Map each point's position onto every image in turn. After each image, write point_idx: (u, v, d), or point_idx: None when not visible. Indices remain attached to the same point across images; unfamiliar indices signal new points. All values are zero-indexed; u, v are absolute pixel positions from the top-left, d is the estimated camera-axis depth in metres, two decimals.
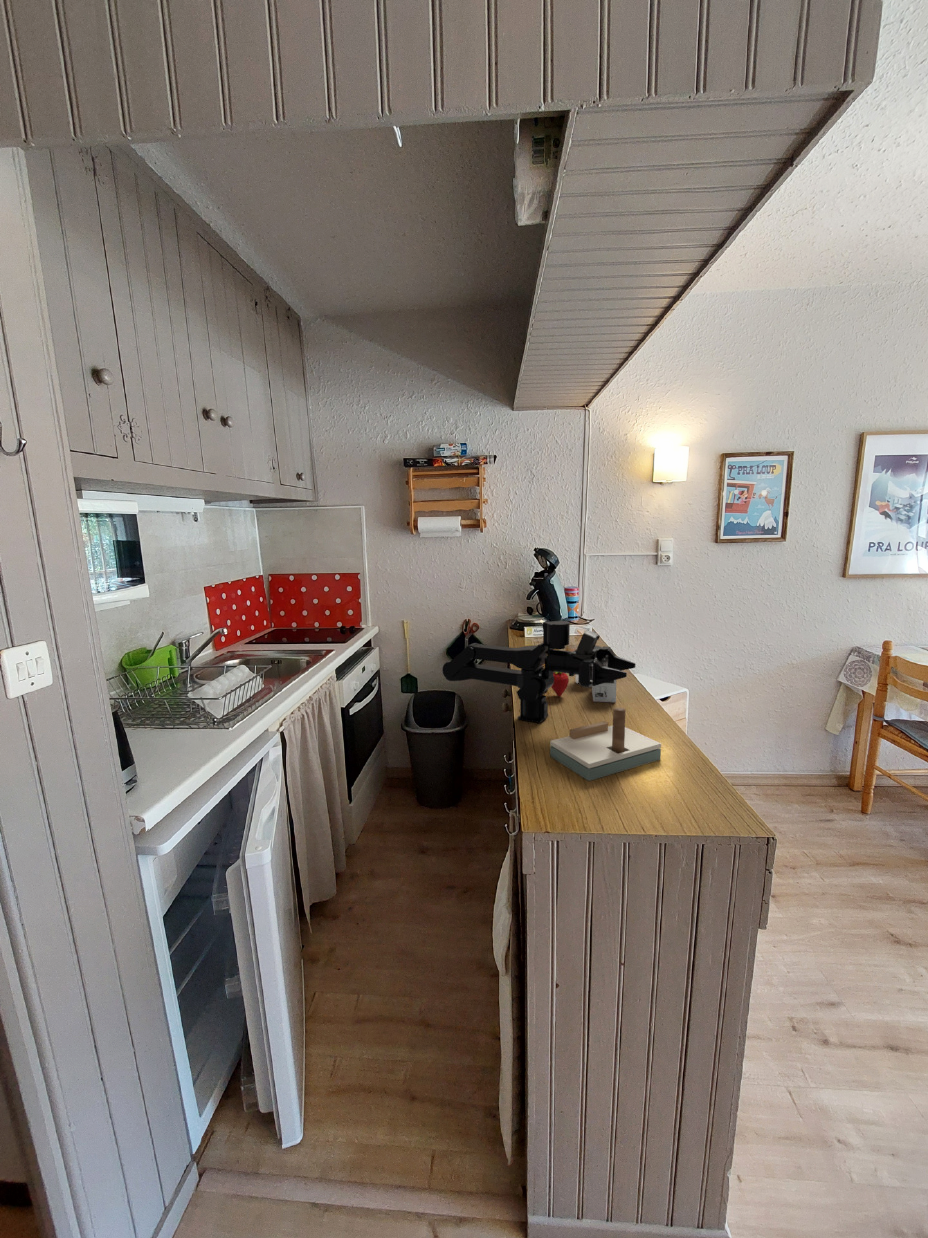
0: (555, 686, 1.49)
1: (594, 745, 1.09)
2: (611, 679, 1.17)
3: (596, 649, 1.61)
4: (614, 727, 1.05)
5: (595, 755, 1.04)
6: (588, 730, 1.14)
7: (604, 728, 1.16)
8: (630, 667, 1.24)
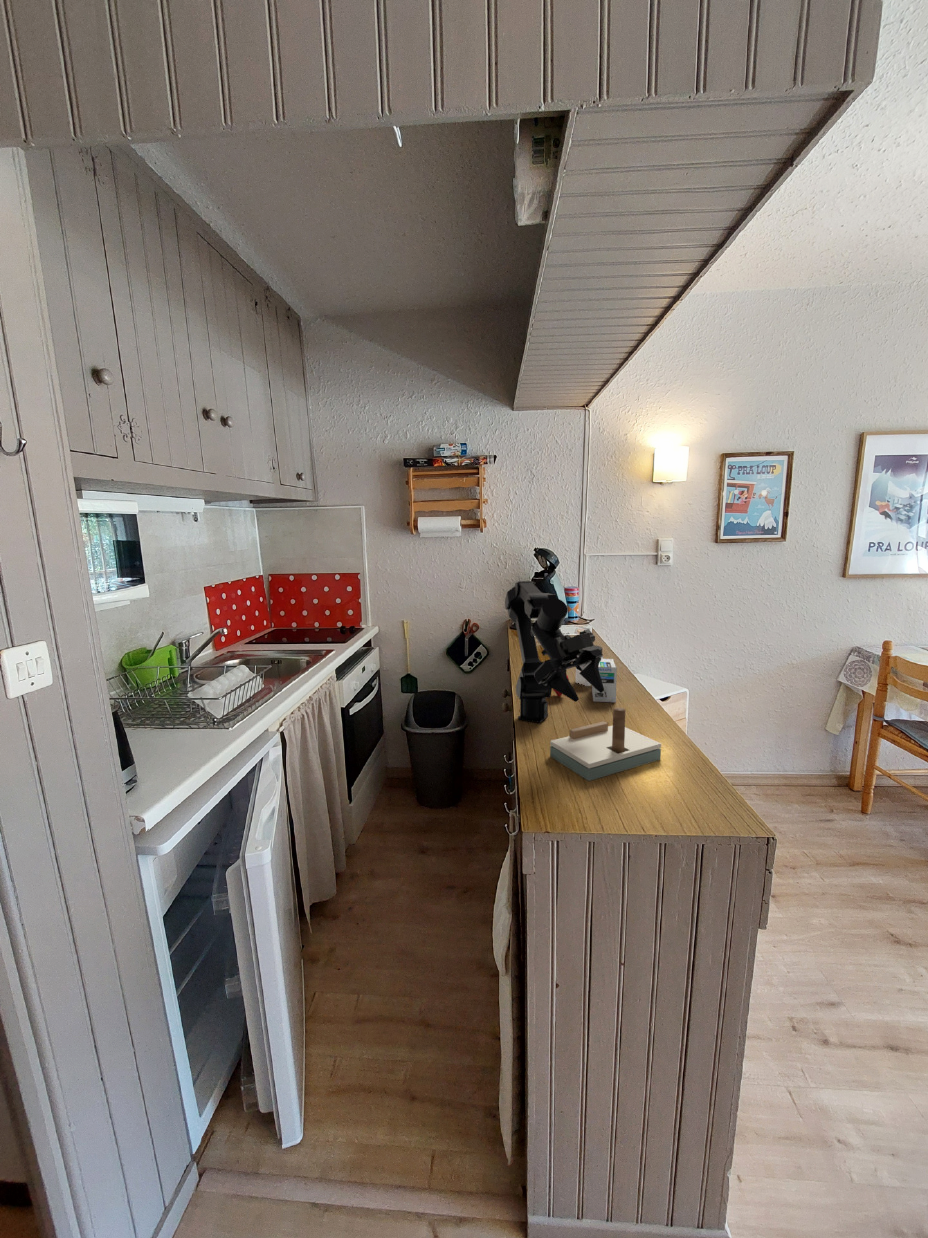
0: None
1: (594, 745, 1.09)
2: (562, 692, 1.09)
3: None
4: (614, 727, 1.05)
5: (595, 755, 1.04)
6: (588, 730, 1.14)
7: (604, 728, 1.16)
8: (597, 689, 1.14)
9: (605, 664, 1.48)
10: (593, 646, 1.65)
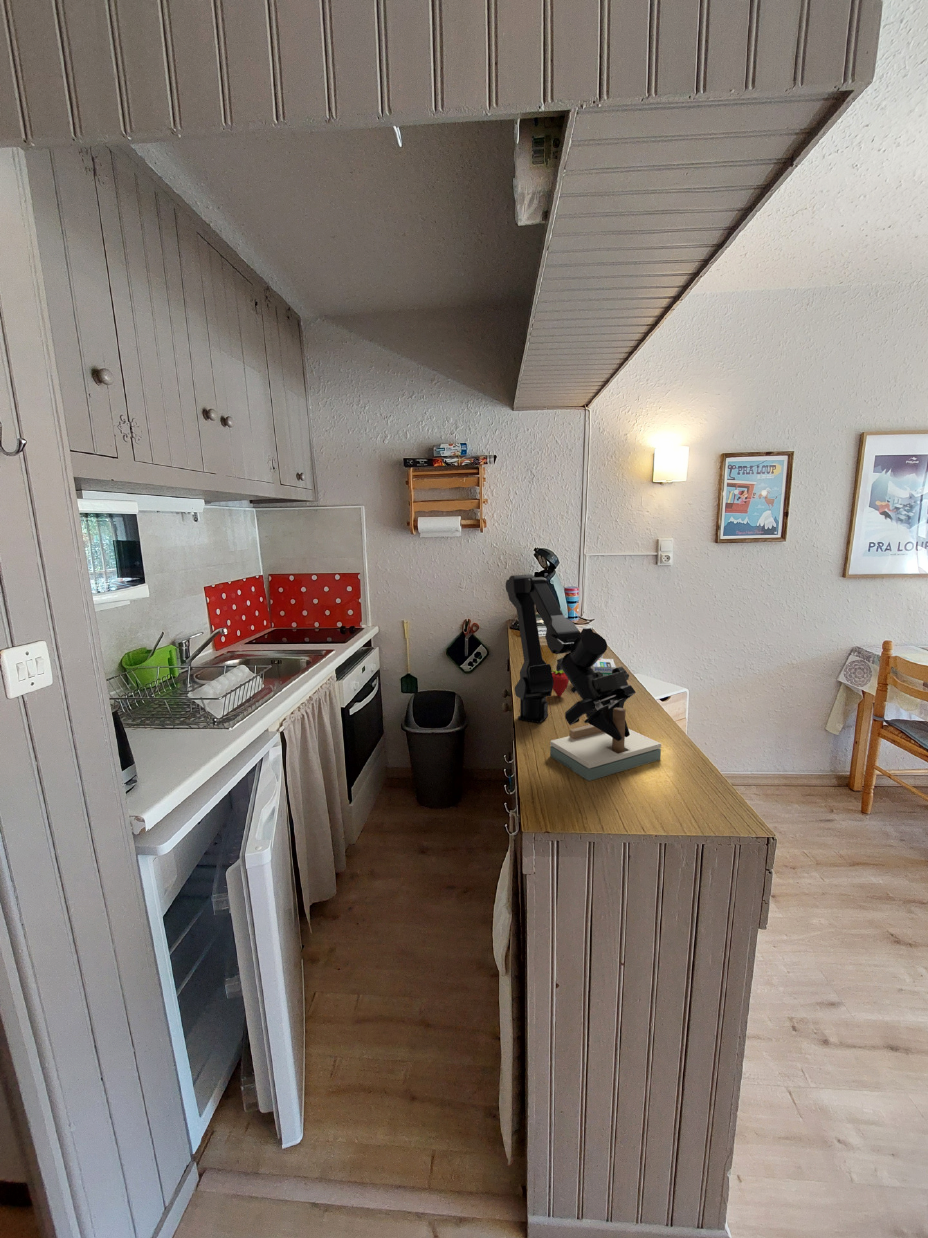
0: (555, 686, 1.49)
1: (594, 745, 1.09)
2: (604, 731, 1.06)
3: None
4: None
5: (595, 755, 1.04)
6: (588, 730, 1.14)
7: None
8: None
9: (605, 664, 1.48)
10: None
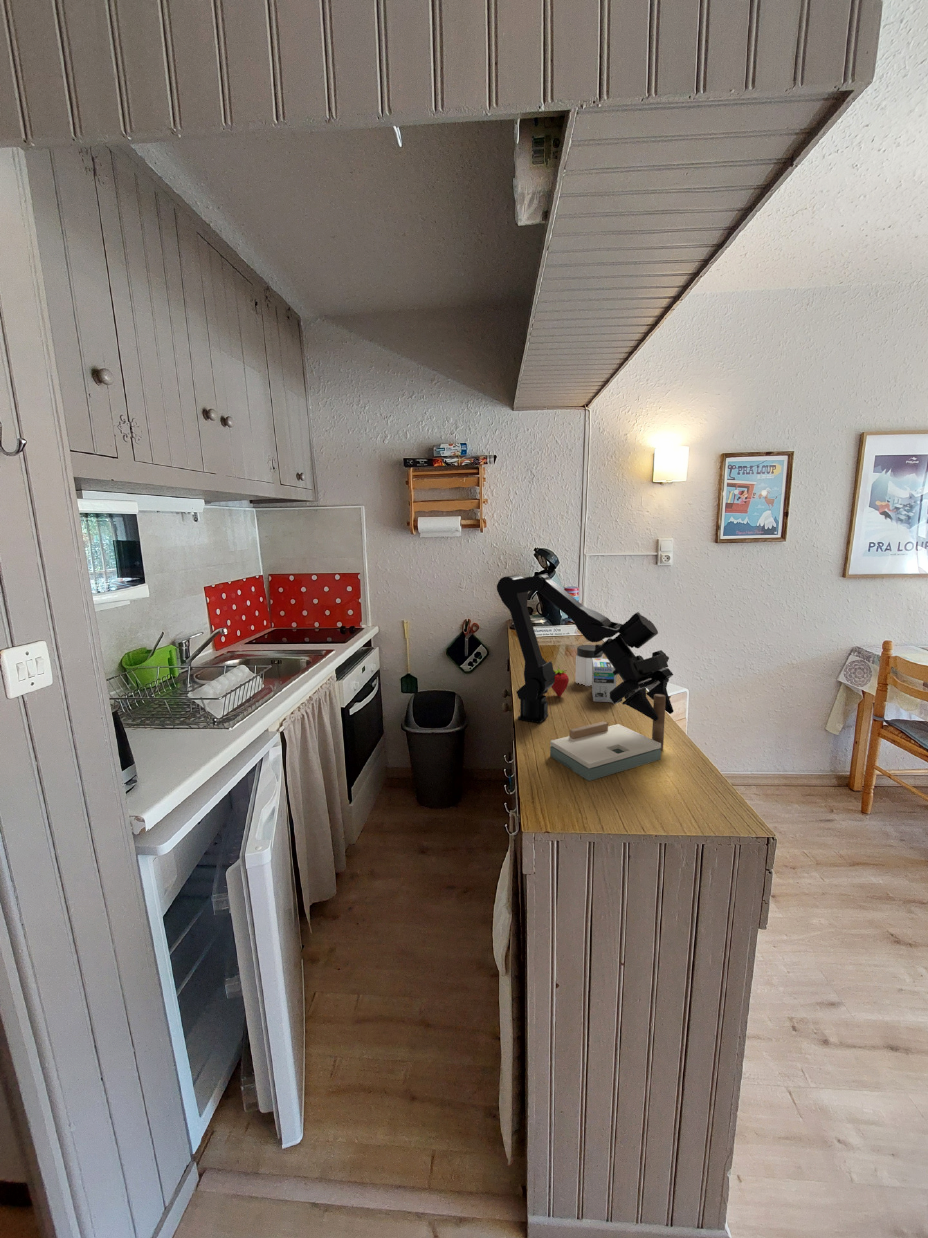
0: (555, 686, 1.49)
1: (594, 745, 1.09)
2: (641, 711, 1.12)
3: None
4: None
5: (595, 755, 1.04)
6: (588, 730, 1.14)
7: (604, 728, 1.16)
8: (666, 710, 1.15)
9: (605, 664, 1.48)
10: (593, 646, 1.65)
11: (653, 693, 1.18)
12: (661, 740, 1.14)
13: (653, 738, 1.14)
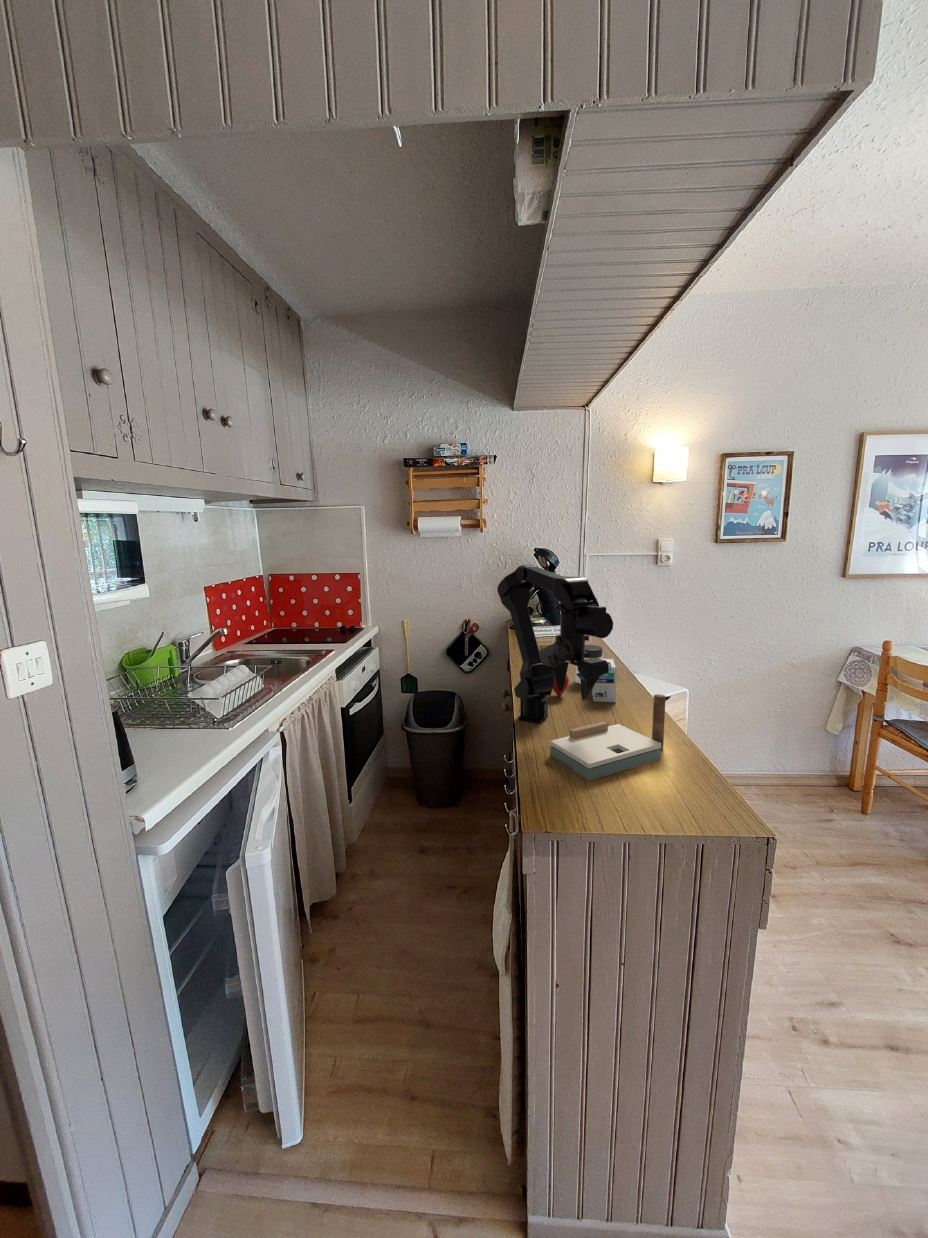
0: (555, 686, 1.49)
1: (594, 745, 1.09)
2: None
3: (596, 649, 1.61)
4: (655, 712, 1.13)
5: (595, 755, 1.04)
6: (588, 730, 1.14)
7: (604, 728, 1.16)
8: None
9: None
10: (593, 646, 1.65)
11: None
12: (661, 740, 1.14)
13: (653, 738, 1.14)
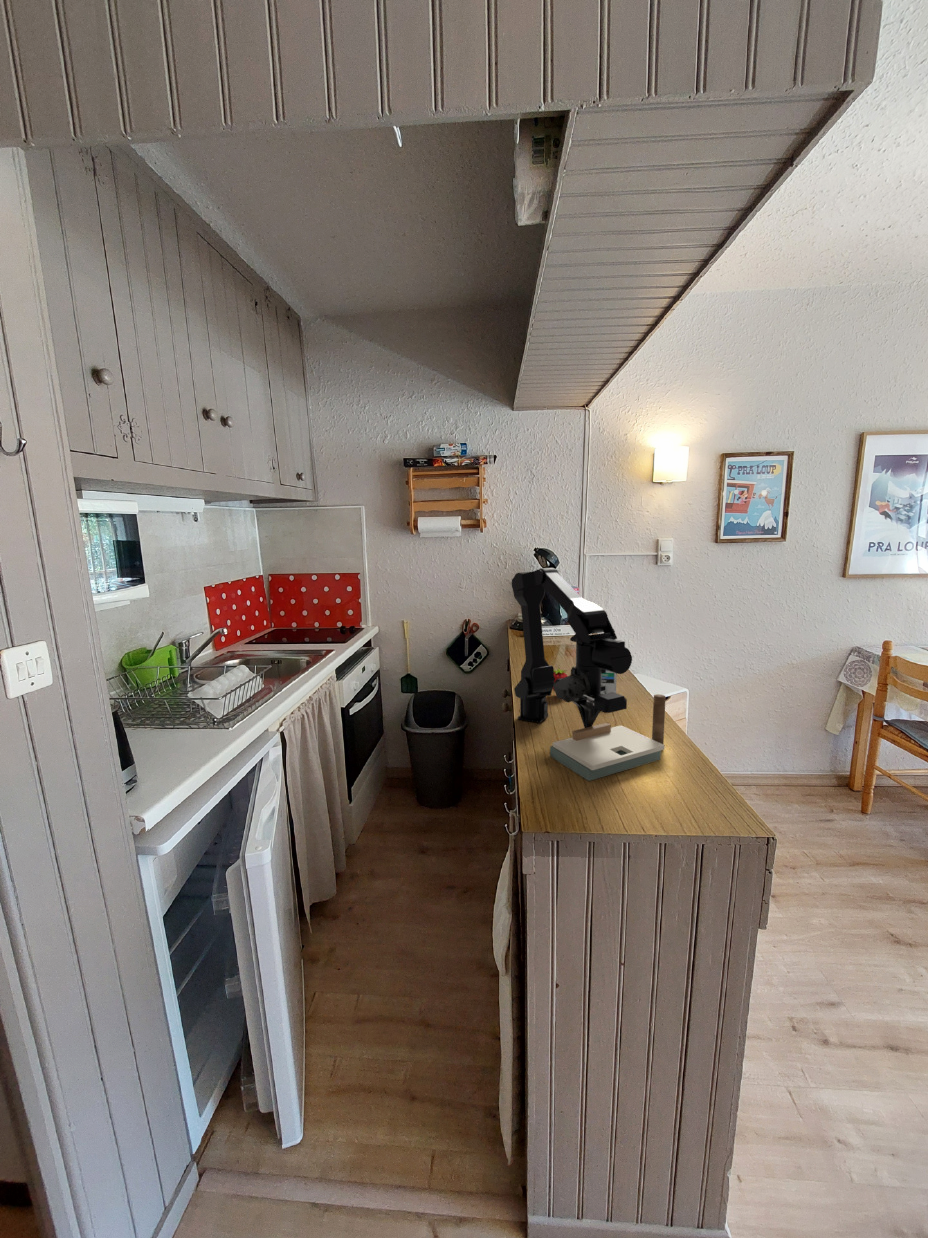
0: None
1: (597, 747, 1.08)
2: None
3: None
4: (655, 712, 1.13)
5: (598, 757, 1.03)
6: (591, 732, 1.13)
7: (607, 730, 1.15)
8: None
9: None
10: None
11: None
12: (661, 740, 1.14)
13: (653, 738, 1.14)
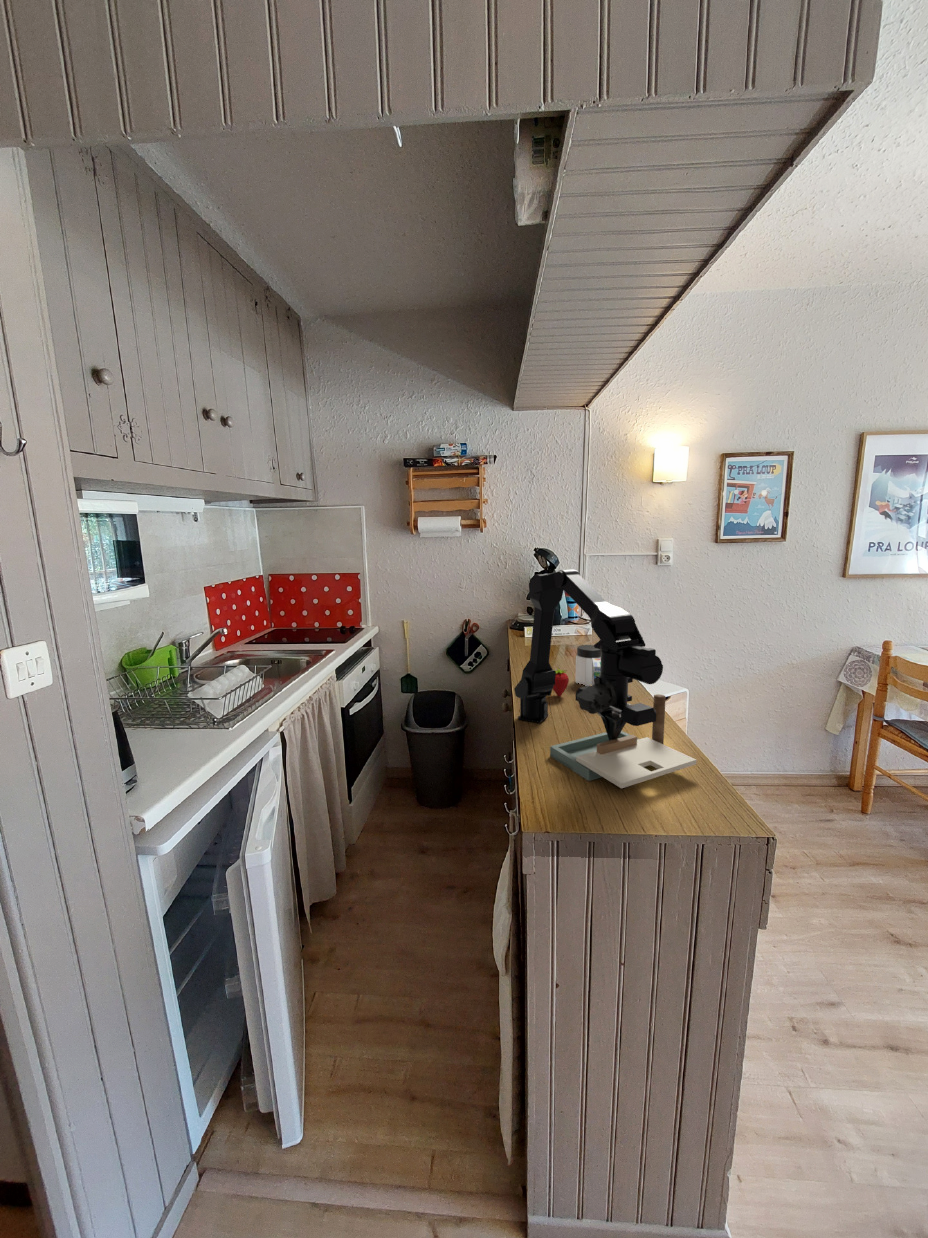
0: (555, 686, 1.49)
1: (624, 761, 1.01)
2: None
3: (596, 649, 1.61)
4: None
5: (627, 773, 0.96)
6: (616, 745, 1.06)
7: (633, 742, 1.08)
8: None
9: None
10: (593, 646, 1.65)
11: None
12: (661, 740, 1.14)
13: (653, 738, 1.14)
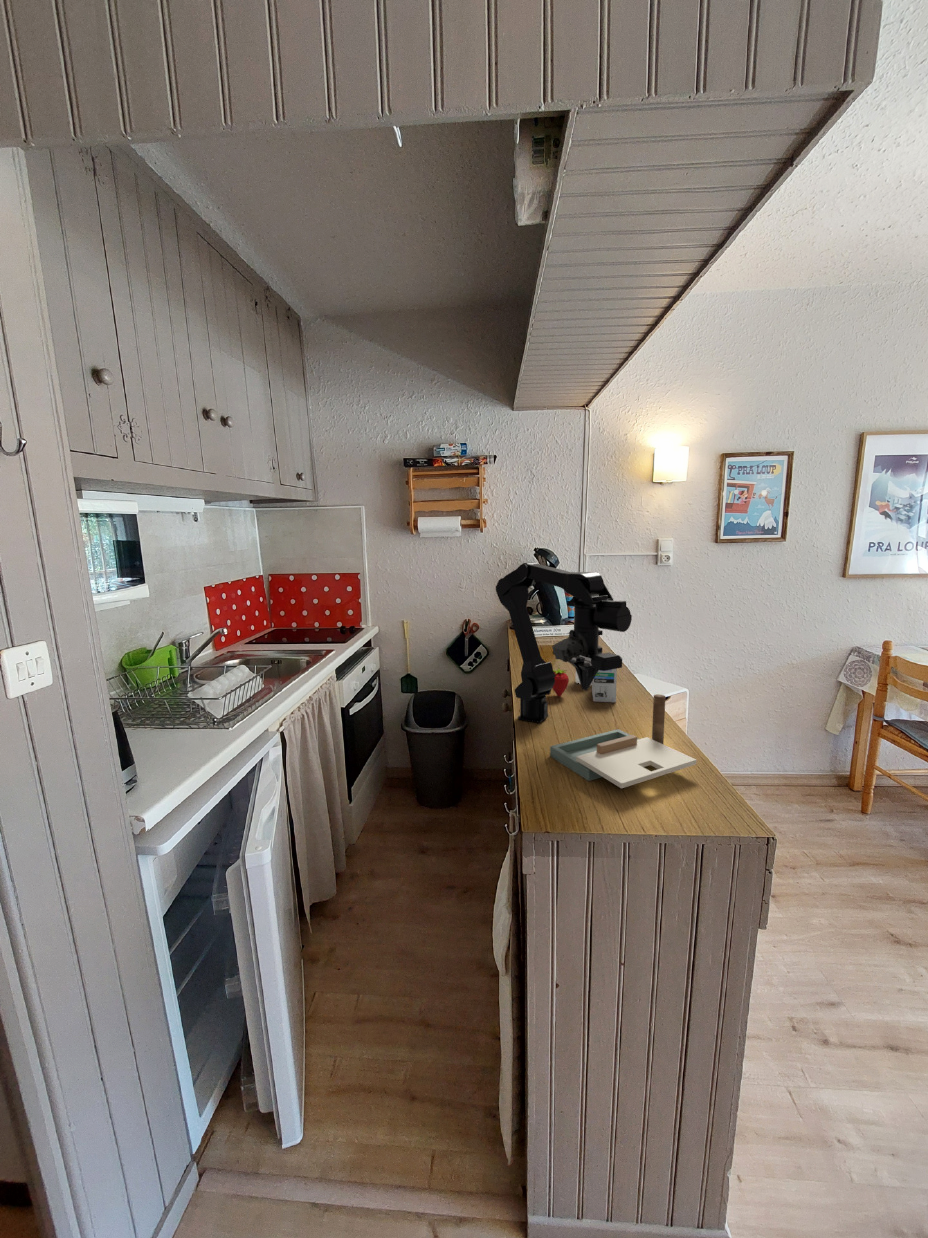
0: (555, 686, 1.49)
1: (624, 761, 1.01)
2: None
3: None
4: (655, 712, 1.13)
5: (627, 773, 0.96)
6: (616, 745, 1.06)
7: (633, 742, 1.08)
8: None
9: None
10: None
11: None
12: (661, 740, 1.14)
13: (653, 738, 1.14)
